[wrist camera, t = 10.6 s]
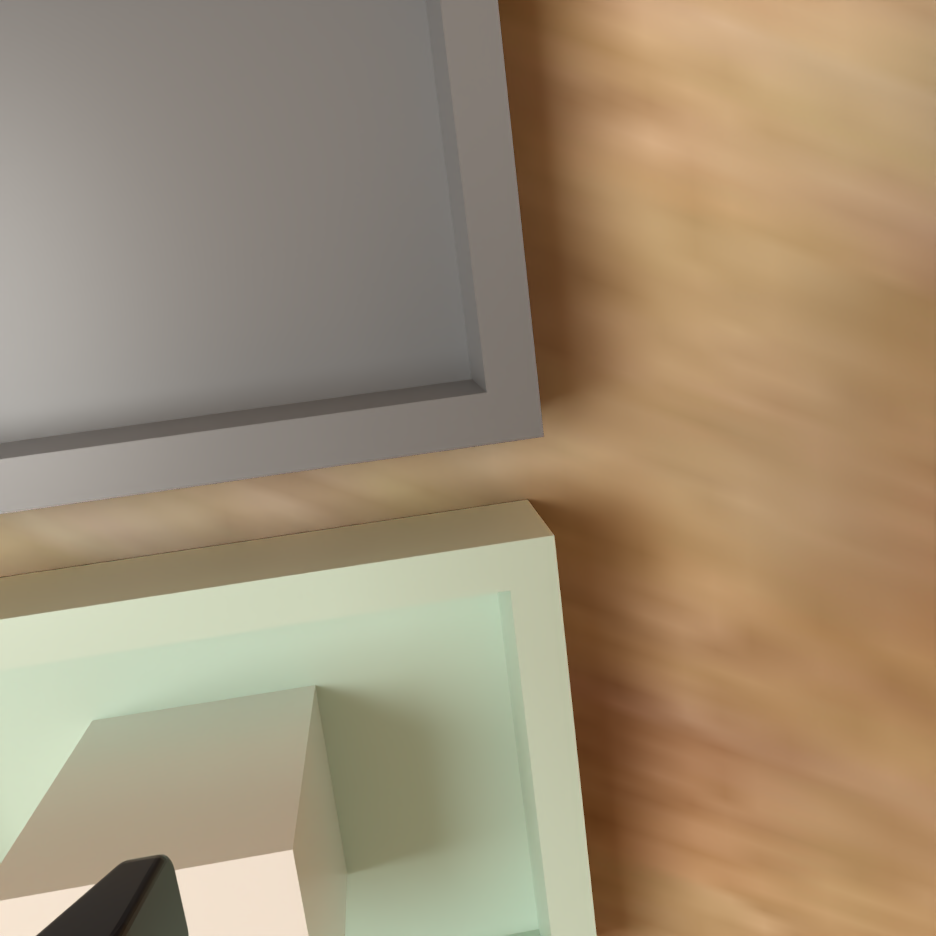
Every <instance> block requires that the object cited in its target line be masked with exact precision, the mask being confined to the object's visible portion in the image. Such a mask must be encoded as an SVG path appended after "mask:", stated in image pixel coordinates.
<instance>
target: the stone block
mask: <svg viewBox="0 0 936 936" xmlns="http://www.w3.org/2000/svg"><path fill="white" fill-rule="evenodd" d="M158 854H164V855H166V856H168V857H169V858H170V860H171V861H172V863H173V866H174V869H175V873H176V878H177V882H178V887H179V891H180V895H181V900H182V904H183V909H184V913H185V918H186V922H187V927H188V933H189V936H345V926H346V900H347V869H346V863H345V857H344V851H343V845H342V840H341V834H340V828H339V822H338V816H337V810H336V804H335V799H334V793H333V787H332V781H331V775H330V769H329V763H328V757H327V752H326V746H325V740H324V734H323V728H322V722H321V716H320V711H319V705H318V699H317V693H316V687H315V685H313V686H306V687H300V688H294V689H288V690H281V691H275V692H269V693H262V694H256V695H250V696H244V697H237V698H231V699H225V700H219V701H212V702H206V703H200V704H193V705H187V706H181V707H175V708H168V709H162V710H156V711H150V712H143V713H137V714H131V715H125V716H118V717H112V718H106V719H99V720H93V721H92V722H91V724H90V725H89V727H88V728H87V730H86V731H85V733H84V734H83V736H82V738H81V739H80V741H79V742H78V744H77V745H76V747H75V748H74V750H73V752H72V753H71V755H70V756H69V758H68V759H67V761H66V763H65V764H64V766H63V767H62V769H61V770H60V772H59V773H58V775H57V777H56V778H55V780H54V781H53V783H52V784H51V786H50V787H49V789H48V791H47V792H46V794H45V795H44V797H43V798H42V800H41V802H40V803H39V805H38V806H37V808H36V809H35V811H34V812H33V814H32V816H31V817H30V819H29V820H28V822H27V823H26V825H25V826H24V828H23V830H22V831H21V833H20V834H19V836H18V837H17V839H16V841H15V842H14V844H13V845H12V847H11V848H10V850H9V851H8V853H7V855H6V856H5V858H4V859H3V861H2V862H1V864H0V936H36V935H37V934H38V933H40V932H41V931H42V930H43V929H44V928H45V927H47V926H48V925H49V924H50V923H51V922H52V921H54V920H55V919H56V918H57V917H58V916H59V915H60V914H62V913H63V912H64V911H65V910H66V909H67V908H69V907H70V906H71V905H72V904H73V903H74V902H76V901H77V900H78V899H79V898H80V897H81V896H82V895H84V894H85V893H86V892H87V891H88V890H89V889H91V888H92V887H93V886H94V885H95V884H96V883H98V882H99V881H100V880H101V879H102V878H103V877H104V876H106V875H107V874H108V873H109V872H110V871H111V870H113V869H114V868H115V867H116V866H117V865H119V864H120V863H121V862H123V861H126V860H130V859H135V858H141V857H147V856H153V855H158Z"/></svg>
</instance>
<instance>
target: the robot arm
mask: <svg viewBox="0 0 936 936" xmlns="http://www.w3.org/2000/svg"><path fill="white" fill-rule="evenodd" d="M36 936H189V933H188V927H187V922H186V918H185V913H184V909H183V904H182V900H181V895H180V891H179V887H178V882H177V878H176V873H175V869H174V866H173V863H172V861H171V860H170V858H169V857H168V856H166V855H164V854H158V855H153V856H147V857H141V858H135V859H130V860H126V861H123V862H121V863H120V864H119V865H117V866H116V867H115V868H114V869H113V870H111V871H110V872H109V873H108V874H107V875H106V876H104V877H103V878H102V879H101V880H100V881H99V882H98V883H96V884H95V885H94V886H93V887H92V888H91V889H89V890H88V891H87V892H86V893H85V894H84V895H82V896H81V897H80V898H79V899H78V900H77V901H76V902H74V903H73V904H72V905H71V906H70V907H69V908H67V909H66V910H65V911H64V912H63V913H62V914H60V915H59V916H58V917H57V918H56V919H55V920H54V921H52V922H51V923H50V924H49V925H48V926H47V927H45V928H44V929H43V930H42V931H41V932H40V933H38V934H37V935H36Z"/></svg>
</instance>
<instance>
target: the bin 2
mask: <svg viewBox="0 0 936 936" xmlns="http://www.w3.org/2000/svg"><path fill="white" fill-rule="evenodd" d="M313 685H315V687H316V693H317V699H318V705H319V711H320V716H321V722H322V728H323V734H324V740H325V746H326V752H327V757H328V763H329V769H330V775H331V781H332V787H333V793H334V799H335V804H336V810H337V816H338V822H339V828H340V834H341V840H342V845H343V851H344V857H345V863H346V869H347V900H346V926H345V936H597V935H596V925H595V916H594V906H593V897H592V887H591V878H590V868H589V859H588V850H587V840H586V831H585V821H584V812H583V802H582V793H581V783H580V774H579V764H578V755H577V745H576V736H575V726H574V717H573V708H572V698H571V689H570V679H569V670H568V660H567V651H566V641H565V632H564V622H563V613H562V603H561V594H560V584H559V575H558V566H557V556H556V547H555V537H554V534H553V533H552V532H551V530H550V529H549V528H548V526H547V525H546V524H545V522H544V521H543V520H542V518H541V517H540V516H539V514H538V513H537V512H536V510H535V509H534V507H533V506H532V505H531V503H530V502H529V501H528V499H527V500H520V501H514V502H507V503H500V504H493V505H487V506H480V507H473V508H466V509H460V510H453V511H446V512H439V513H433V514H426V515H419V516H412V517H406V518H399V519H392V520H385V521H379V522H372V523H365V524H358V525H352V526H345V527H338V528H331V529H325V530H318V531H311V532H304V533H298V534H291V535H284V536H277V537H271V538H264V539H257V540H250V541H244V542H237V543H230V544H223V545H217V546H210V547H203V548H196V549H190V550H183V551H176V552H169V553H163V554H156V555H149V556H142V557H136V558H129V559H122V560H116V561H109V562H102V563H95V564H89V565H82V566H75V567H68V568H62V569H55V570H48V571H41V572H35V573H28V574H21V575H14V576H8V577H1V578H0V864H1V862H2V861H3V859H4V858H5V856H6V855H7V853H8V851H9V850H10V848H11V847H12V845H13V844H14V842H15V841H16V839H17V837H18V836H19V834H20V833H21V831H22V830H23V828H24V826H25V825H26V823H27V822H28V820H29V819H30V817H31V816H32V814H33V812H34V811H35V809H36V808H37V806H38V805H39V803H40V802H41V800H42V798H43V797H44V795H45V794H46V792H47V791H48V789H49V787H50V786H51V784H52V783H53V781H54V780H55V778H56V777H57V775H58V773H59V772H60V770H61V769H62V767H63V766H64V764H65V763H66V761H67V759H68V758H69V756H70V755H71V753H72V752H73V750H74V748H75V747H76V745H77V744H78V742H79V741H80V739H81V738H82V736H83V734H84V733H85V731H86V730H87V728H88V727H89V725H90V724H91V722H92V721H93V720H99V719H106V718H112V717H118V716H125V715H131V714H137V713H143V712H150V711H156V710H162V709H168V708H175V707H181V706H187V705H193V704H200V703H206V702H212V701H219V700H225V699H231V698H237V697H244V696H250V695H256V694H262V693H269V692H275V691H281V690H288V689H294V688H300V687H306V686H313Z"/></svg>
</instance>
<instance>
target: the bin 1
mask: <svg viewBox="0 0 936 936" xmlns="http://www.w3.org/2000/svg"><path fill="white" fill-rule="evenodd" d="M538 437H544V433H543V424H542V414H541V405H540V395H539V386H538V376H537V367H536V357H535V348H534V338H533V329H532V319H531V310H530V300H529V291H528V282H527V272H526V263H525V253H524V244H523V234H522V225H521V215H520V206H519V196H518V187H517V177H516V168H515V158H514V149H513V140H512V130H511V121H510V111H509V102H508V92H507V83H506V73H505V64H504V54H503V45H502V35H501V26H500V16H499V7H498V0H0V514H4V513H11V512H18V511H25V510H32V509H39V508H46V507H53V506H60V505H67V504H74V503H81V502H88V501H95V500H102V499H109V498H116V497H124V496H131V495H138V494H145V493H152V492H159V491H166V490H173V489H180V488H187V487H194V486H201V485H208V484H215V483H222V482H229V481H236V480H243V479H250V478H257V477H264V476H271V475H278V474H285V473H292V472H299V471H306V470H313V469H320V468H327V467H334V466H341V465H348V464H355V463H362V462H369V461H376V460H383V459H390V458H397V457H405V456H412V455H419V454H426V453H433V452H440V451H447V450H454V449H461V448H468V447H475V446H482V445H489V444H496V443H503V442H510V441H517V440H524V439H531V438H538Z"/></svg>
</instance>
